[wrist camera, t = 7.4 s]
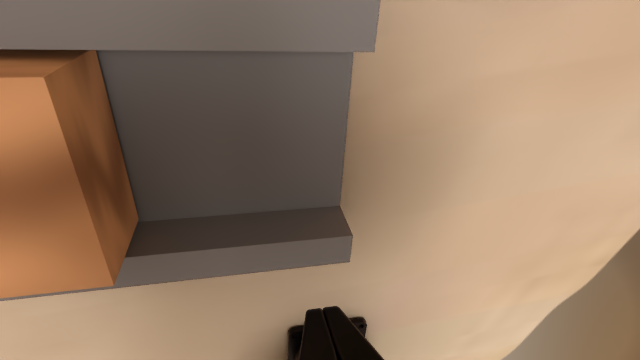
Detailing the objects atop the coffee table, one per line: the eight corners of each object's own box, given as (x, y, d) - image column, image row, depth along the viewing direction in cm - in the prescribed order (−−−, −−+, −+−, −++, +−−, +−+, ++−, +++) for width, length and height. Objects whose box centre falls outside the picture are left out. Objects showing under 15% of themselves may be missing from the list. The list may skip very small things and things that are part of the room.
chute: (335, 225, 25) (349, 261, 21) (-6, 255, 21) (-47, 306, 18) (354, -7, 17) (380, 0, 14) (-158, -28, 14) (-271, -25, 10)
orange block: (138, 219, 20) (113, 285, 16) (16, 228, 19) (-46, 303, 15) (94, 47, 16) (43, 77, 11) (-71, 45, 14) (-197, 78, 10)
